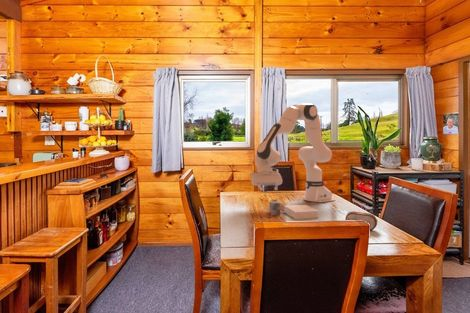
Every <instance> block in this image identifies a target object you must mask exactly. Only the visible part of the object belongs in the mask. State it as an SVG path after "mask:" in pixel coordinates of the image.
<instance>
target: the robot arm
mask: <svg viewBox="0 0 470 313" xmlns="http://www.w3.org/2000/svg"><path fill="white" fill-rule="evenodd" d="M298 121H303V122H304V133H305V134H304V136H305V140H306V141H307V142H308V143H310V144H311V146H308V145H307V146H302V147H300V148H299V150H298V151H297V152H298V153H297V155H298V159H300V160H301V162H302V163H303V165H304V167H305V173H306V174H305V175H306V178H305V191H304V196H303V200H305V201H307V202H315V203H327V202H335V201H336V198H334V197H333V194H332V191H331V190H329V189H328V188H327V187H326V186H325V185H327V184H328V183H327V181H324V180H323V170H322V169H321V168H320V167H319V166H318V165H317V163H327V162H330V160H331V159H332V156H333V152H332V150H331V149H330V147H328V146H327V145H326V144H325V142H324V140H323V137H322V127H321V125H322V124H321V120H320V116H319V114H318V108H317V106H316V105H315V104H314V103H313V104H312V103H299V104H294V105H291V106H288V107H286V108H285V110H284V111H283V113H282V114H281V116H280V119H279V121H278V122H276V123H274V124H273V126H272V127H271V128H270V130H269V131H268V133H267V134H266V135H265V137H264V138H263V140H262V142H261V143H260V144H259V145H258V147H257V148H256V153H255V156H254V165H255V167H256V171H257V172H251V173H250V174H249V177H250V179H251V182H250V183H251V185H252V186H255V187H256V186H257V187H258V188H259V190H260V191H264V187H263V186H274V191H278V190H279V189H278V186H281V185H282V184H283V182H284V181H283V178H282V175H281V173H279V169H277V168H274V167H275V165H278V164H279V163H280V161H281V159H282V154H281V152H279V151H278V150H276V149H274V148H273V147H272V144H273V142H274V141H275V140H276V138H277V136H278V135H280V134H281V135H289V134H291V133H292V132H293V131H294V129H295V128H296V127H295V126H296V125H297V122H298Z"/></svg>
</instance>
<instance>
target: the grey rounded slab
mask: <svg viewBox="0 0 470 313" xmlns="http://www.w3.org/2000/svg"><path fill="white" fill-rule="evenodd" d="M345 220H363V221H366V222H367V223H369V224H370V231H373V230H374V229H375V228H377V225H378V219H377V218H376V216H375V215H373V214H372V213H367V212H360V211H350V212H348V213H347V214H346V216H345Z"/></svg>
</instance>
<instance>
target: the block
mask: <svg viewBox="0 0 470 313" xmlns="http://www.w3.org/2000/svg"><path fill="white" fill-rule="evenodd" d="M269 214H270V215H272V216H277V215H278V216H279V215H281V202H279V201H276V200H273V201H269Z"/></svg>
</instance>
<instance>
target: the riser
mask: <svg viewBox="0 0 470 313" xmlns="http://www.w3.org/2000/svg"><path fill="white" fill-rule="evenodd" d="M283 208H284V212H283V213H285V214H286V215H288V216H290V217H291V218H293V219H294V218H295V219H294V220H303V219H304V220H305V218H306V219H316V218H317V219H318V218H319V210H317V209H315V208H313V207H311V206H309V205H307V204H293V205H292V204H291V205H284V207H283Z"/></svg>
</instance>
